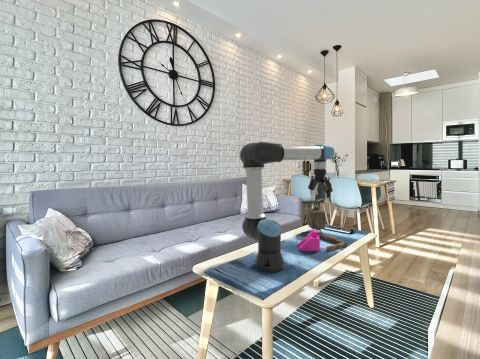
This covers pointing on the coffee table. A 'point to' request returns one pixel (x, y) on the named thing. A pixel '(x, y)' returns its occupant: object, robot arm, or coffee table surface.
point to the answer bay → (337, 245)
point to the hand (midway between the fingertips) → (319, 201)
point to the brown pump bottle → (316, 218)
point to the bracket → (310, 242)
